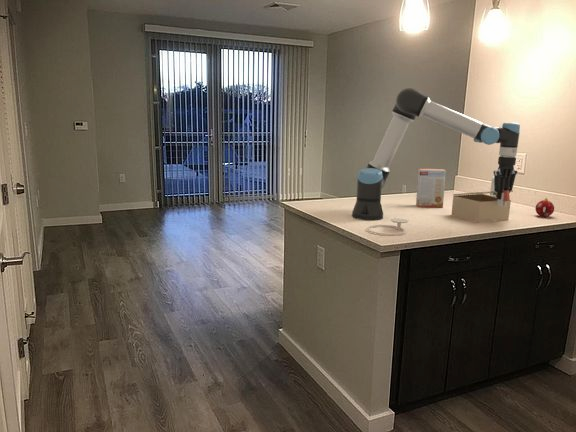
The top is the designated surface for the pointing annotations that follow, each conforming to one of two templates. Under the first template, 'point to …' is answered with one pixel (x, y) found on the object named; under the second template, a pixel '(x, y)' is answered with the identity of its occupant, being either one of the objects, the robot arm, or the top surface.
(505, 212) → the carton
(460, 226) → the top surface
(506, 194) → the lid flap
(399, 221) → the hand towel holder
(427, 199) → the cracker box
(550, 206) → the christmas ornament
